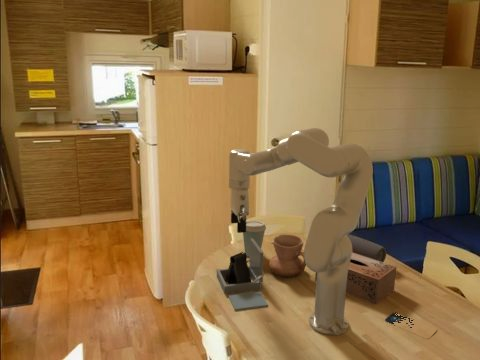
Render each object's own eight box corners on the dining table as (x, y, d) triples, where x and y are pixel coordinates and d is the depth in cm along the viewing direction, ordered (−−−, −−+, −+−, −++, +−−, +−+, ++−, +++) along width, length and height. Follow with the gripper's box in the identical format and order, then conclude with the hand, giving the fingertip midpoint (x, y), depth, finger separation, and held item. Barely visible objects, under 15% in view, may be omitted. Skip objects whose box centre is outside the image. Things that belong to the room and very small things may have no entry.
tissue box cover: (393, 290, 171) (396, 266, 169) (376, 305, 161) (378, 279, 158) (334, 269, 188) (336, 247, 186) (315, 281, 178) (316, 257, 175)
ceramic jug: (259, 270, 186) (260, 238, 182) (282, 259, 196) (284, 229, 192) (293, 286, 173) (295, 253, 169) (316, 274, 183) (318, 242, 179)
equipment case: (263, 290, 170) (264, 253, 166) (225, 295, 166) (225, 257, 162) (251, 271, 185) (252, 237, 181) (216, 275, 181) (216, 240, 177)
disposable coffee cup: (238, 251, 204) (238, 219, 200) (260, 248, 207) (261, 217, 203) (245, 260, 194) (245, 228, 190) (268, 257, 197) (269, 225, 194)
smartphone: (428, 339, 141) (383, 320, 151) (428, 341, 141) (383, 321, 151) (438, 329, 146) (394, 311, 156) (438, 331, 146) (394, 312, 157)
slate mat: (268, 306, 159) (268, 304, 159) (234, 310, 156) (234, 309, 156) (259, 292, 168) (259, 291, 168) (228, 296, 165) (228, 294, 165)
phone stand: (251, 284, 174) (252, 255, 171) (240, 289, 170) (241, 260, 167) (235, 276, 180) (236, 248, 177) (224, 281, 176) (224, 253, 173)
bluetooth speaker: (328, 254, 202) (330, 233, 199) (341, 248, 208) (342, 228, 206) (373, 271, 186) (375, 249, 183) (385, 265, 192) (388, 243, 189)
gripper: (255, 189, 158) (254, 235, 162) (243, 176, 174) (242, 218, 178) (234, 190, 156) (234, 237, 160) (223, 177, 172) (223, 220, 177)
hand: (238, 227), depth 169 cm, fingers open, 9 cm apart
